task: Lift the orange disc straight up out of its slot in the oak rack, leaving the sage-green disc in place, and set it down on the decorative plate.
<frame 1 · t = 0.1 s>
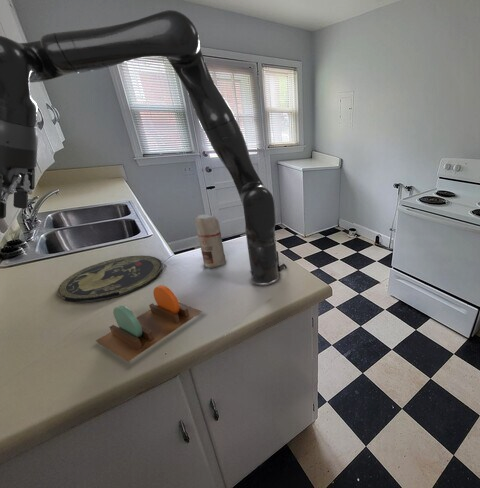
hand: (9, 212, 63), 31 cm above the countertop, tool tilted 20°, fingers open, 8 cm apart
spray can: (215, 264, 106), on the countertop
decorative plate: (115, 278, 96), on the countertop
green disc: (133, 336, 67), point 1 cm above the countertop, touching rack
rack: (154, 329, 72), on the countertop
orange disc: (170, 314, 75), point 1 cm above the countertop, touching rack
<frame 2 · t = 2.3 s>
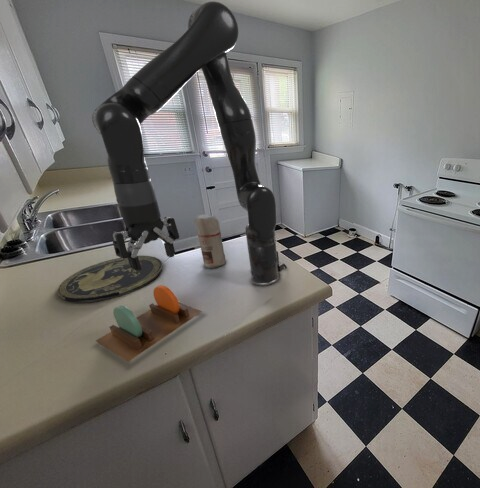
hand: (155, 262, 69), 18 cm above the countertop, tool pointing down, fingers open, 8 cm apart
nothing on the countertop moved.
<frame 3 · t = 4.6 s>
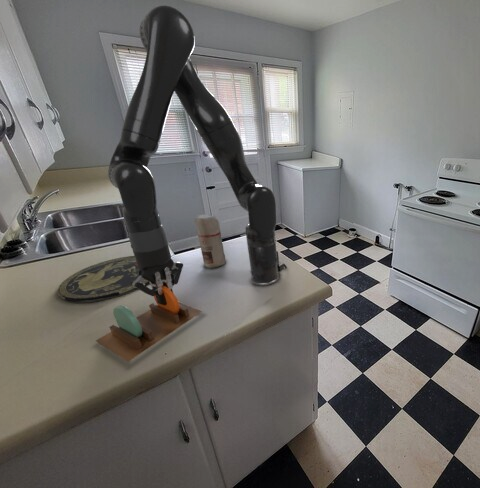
hand: (166, 302, 74), 6 cm above the countertop, tool pointing down, fingers closed on orange disc, 1 cm apart
orange disc: (170, 314, 75), point 2 cm above the countertop, touching gripper, rack
everything else where it was.
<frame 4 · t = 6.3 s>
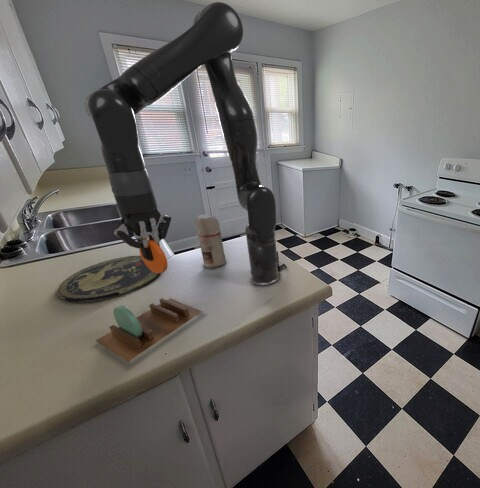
hand: (153, 258, 68), 19 cm above the countertop, tool pointing down, fingers closed on orange disc, 1 cm apart
orange disc: (157, 272, 70), point 15 cm above the countertop, touching gripper
everything else where it was.
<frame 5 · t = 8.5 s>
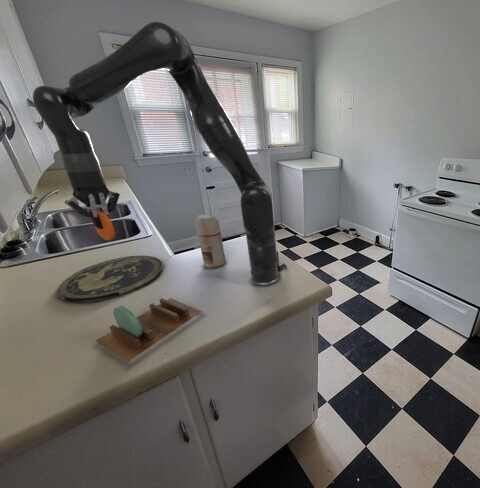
hand: (103, 227, 82), 21 cm above the countertop, tool pointing down, fingers closed on orange disc, 1 cm apart
orange disc: (107, 239, 84), point 17 cm above the countertop, touching gripper
everything else where it was.
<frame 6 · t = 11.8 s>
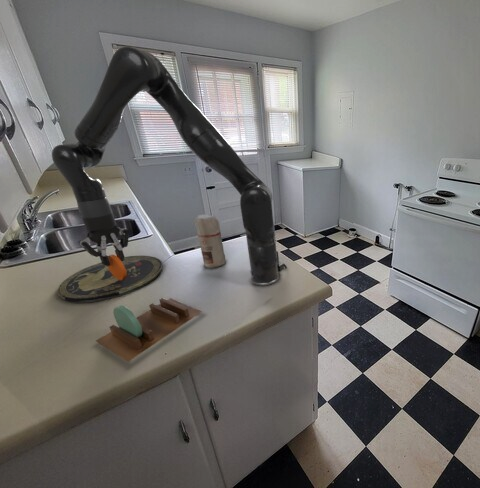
hand: (114, 262, 89), 8 cm above the countertop, tool pointing down, fingers open, 3 cm apart
decorative plate: (115, 278, 96), on the countertop, touching orange disc
orange disc: (120, 279, 92), point 2 cm above the countertop, touching decorative plate
everything else where it was.
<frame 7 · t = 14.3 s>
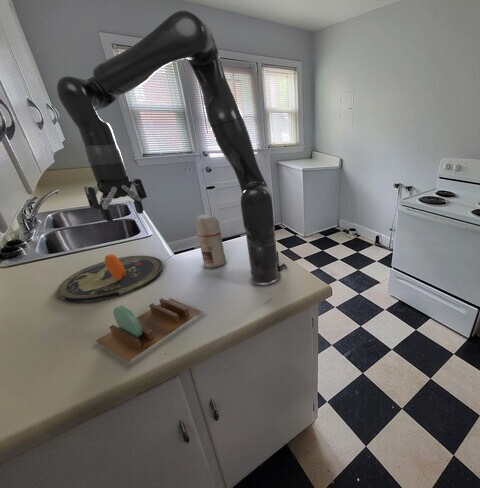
hand: (125, 217, 82), 24 cm above the countertop, tool pointing down, fingers open, 8 cm apart
orange disc: (120, 279, 92), point 2 cm above the countertop, tilted 9°, touching decorative plate
everything else where it was.
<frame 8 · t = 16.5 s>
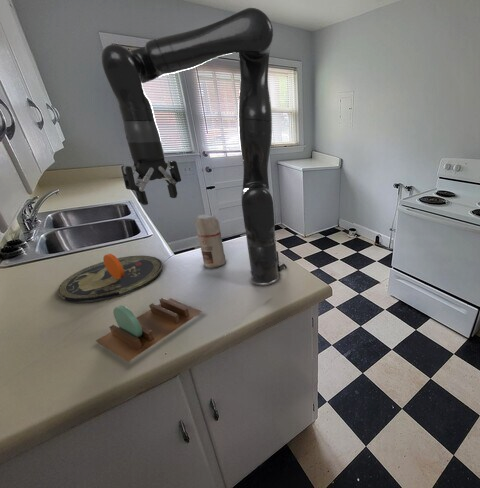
hand: (159, 200, 77), 30 cm above the countertop, tool pointing down, fingers open, 8 cm apart
orange disc: (120, 278, 92), point 2 cm above the countertop, tilted 20°, touching decorative plate
everything else where it was.
at the end: orange disc inside the target area on the decorative plate (6.1 cm from its centre), point 2.3 cm above the decorative plate's base; orange disc touching decorative plate; green disc moved 0.0 cm from its start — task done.
